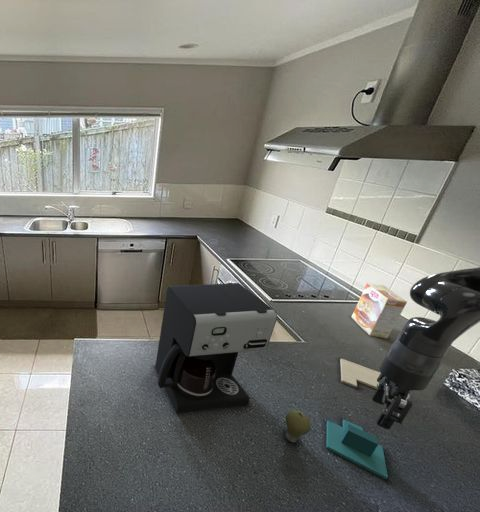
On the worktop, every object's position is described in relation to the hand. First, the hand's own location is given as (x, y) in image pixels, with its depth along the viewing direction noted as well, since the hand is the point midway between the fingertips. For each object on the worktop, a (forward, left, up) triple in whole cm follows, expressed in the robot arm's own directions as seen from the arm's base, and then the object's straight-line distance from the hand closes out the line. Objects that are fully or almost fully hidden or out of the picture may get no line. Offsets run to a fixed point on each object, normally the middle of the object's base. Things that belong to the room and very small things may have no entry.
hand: (379, 413), depth 69 cm
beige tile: (-5, -37, -16) cm, 41 cm away
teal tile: (0, -4, -16) cm, 17 cm away
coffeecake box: (-9, -81, -16) cm, 83 cm away
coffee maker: (+42, +6, -16) cm, 46 cm away
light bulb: (+14, +6, -16) cm, 22 cm away
